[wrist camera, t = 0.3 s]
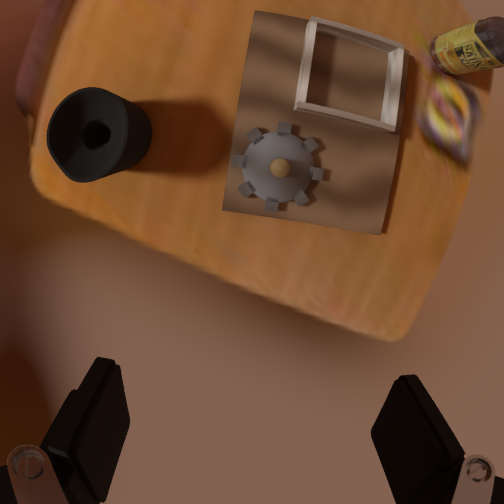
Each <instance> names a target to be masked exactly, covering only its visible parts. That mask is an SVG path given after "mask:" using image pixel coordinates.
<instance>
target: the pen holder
mask: <svg viewBox="0 0 504 504" xmlns="http://www.w3.org/2000/svg"><path fill="white" fill-rule="evenodd" d="M151 138H152V128H151V123H150V121H149V118H148V116H147V115H146V113H145V112H144V111H143V110H142V109H141V108H140V107H138V106H137V105H135V104H133V103H131V102H130V101H128V100H126V99H124V98H122V97H120V96H118V95H116V94H113V93H111V92H109V91H107V90H104V89H101V88H96V87H88V88H83V89H79V90H77V91H75V92H73V93H71V94H70V95H68V96H67V97H66V98H65V99H64V100H63V101H62V102H61V103H60V104H59V105H58V106H57V108H56V109H55V111H54V113H53V114H52V117H51V119H50V122H49V124H48V129H47V146H48V149H49V152H50V154H51V156H52V158H53V159H54V161H55V162H56V164H57V165H58V166H59V168H60V169H61V170H62V172H63V173H64V174H65V175H66V176H67V177H68V178H69V179H71V180H73V181H75V182H81V183H84V182H91V181H95V180H97V179H100V178H103V177H106V176H109V175H112V174H115V173H118V172H121V171H123V170H126V169H128V168H130V167H132V166H134V165H136V164H137V163H138V162H139V161H140V160H141V159H142V158H143V157H144V156H145V154H146V152H147V151H148V149H149V146H150V143H151Z"/></svg>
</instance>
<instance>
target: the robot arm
mask: <svg viewBox="0 0 504 504" xmlns="http://www.w3.org/2000/svg"><path fill="white" fill-rule="evenodd" d="M129 425H130V417H129V412H128V407H127V402H126V397H125V392H124V386H123V381H122V375H121V369H120V366H119V365H116V363H115V361H114V360H112V359H107V358H102V357H97V358H96V359H95V361H94V363H93V364H92V366H91V367H90V369H89V371H88V373H87V374H86V376H85V378H84V379H83V381H82V383H81V384H80V386H79V388H78V390H75V389H74V390H72V391H71V392H70V393H69V395H68V396H67V398H66V400H65V402H64V403H63V405H62V407H61V409H60V410H59V412H58V414H57V416H56V417H55V419H54V421H53V423H52V425H51V427H50V428H49V430H48V432H47V434H46V436H45V437H44V439H43V441H42V443H41V445H40V447H39V448H38V447H36V446H32V445H24V446H20V447H17V448H16V449H14V450H13V451H12V452H11V453H10V455H9V456H8V460H7V465H5V466H1V467H0V504H100V502H103V503H104V502H105V501H106V498H107V495H108V492H109V488H110V484H111V482H112V478H113V475H114V472H115V469H116V466H117V462H118V459H119V456H120V453H121V450H122V447H123V444H124V441H125V438H126V435H127V432H128V429H129ZM371 438H372V440H373V443H374V445H375V448H376V450H377V453H378V456H379V459H380V461H381V464H382V467H383V469H384V472H385V475H386V477H387V480H388V483H389V486H390V488H391V491H392V494H393V497H394V499H395V502H396V504H504V479H503V478H500V477H497V476H495V469H494V466H493V464H492V463H491V461H490V460H489V459H487V458H486V457H484V456H481V455H471V456H469V457H467V458H466V459H465V458H464V454H465V452H464V450H463V449H462V447H461V446H460V444H459V442H458V440H457V438H456V437H455V435H454V433H453V432H452V430H451V428H450V427H449V425H448V424H447V422H446V420H445V419H444V417H443V415H442V414H441V412H440V411H439V409H438V407H437V406H436V404H435V403H434V401H433V400H432V398H431V396H430V395H429V394H428V392H427V390H426V389H425V388H424V386H423V384H422V383H421V381H420V380H419V378H418V377H417V376H416V375H414V374H413V375H402V376H400V377H399V378H398V380H395V381H394V383H393V385H392V388H391V390H390V392H389V394H388V396H387V399H386V401H385V403H384V405H383V407H382V409H381V411H380V413H379V415H378V417H377V419H376V421H375V423H374V425H373V427H372V429H371Z"/></svg>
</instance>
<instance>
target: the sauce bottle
mask: <svg viewBox="0 0 504 504" xmlns="http://www.w3.org/2000/svg"><path fill="white" fill-rule="evenodd" d="M430 53H431V56H432V58H433V60H434V62H435V63H436V65H437V66H438V67H439V68H440V70H442V71H443V72H445V73H448V74H454V75H460V74H466V73H471V72H476V71H482V70H487V69H493V68H499V67H504V18H502V17H489V18H487V19H484V20H478V21H476V22H473V23H470V24H467V25H465V26H462V27H459V28H456V29H454V30H451V31H448V32H446V33H443V34H441V35H440V36H438V37H436V38H435V39H434V40H433V41H432V43H431V46H430Z"/></svg>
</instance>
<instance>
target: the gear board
mask: <svg viewBox="0 0 504 504" xmlns="http://www.w3.org/2000/svg"><path fill="white" fill-rule="evenodd" d="M408 65H409V51H408V50H405V49H404V44H401V43H399V42H396V41H393V40H391V39H388V38H385V37H382V36H380V35H377V34H374V33H371V32H368V31H365V30H361V29H358V28H355V27H352V26H348V25H345V24H341V23H338V22H334V21H330V20H326V19H322V18H318V17H314V16H311V18H310V20H306V19H302V18H297V17H292V16H287V15H281V14H275V13H269V12H262V11H255V12H254V17H253V23H252V28H251V33H250V39H249V44H248V49H247V55H246V61H245V66H244V72H243V78H242V83H241V89H240V95H239V101H238V107H237V114H236V120H235V126H234V132H233V139H232V145H231V152H230V159H229V165H228V172H227V179H226V186H225V193H224V200H223V208H222V210H223V211H231V212H238V213H245V214H252V215H259V216H265V217H272V218H279V219H285V220H292V221H298V222H304V223H311V224H317V225H323V226H329V227H335V228H341V229H347V230H353V231H358V232H364V233H370V234H375V235H381V230H382V226H383V222H384V218H385V213H386V209H387V204H388V200H389V195H390V190H391V185H392V180H393V175H394V170H395V164H396V159H397V153H398V147H399V140H400V134H401V127H402V120H403V113H404V105H405V96H406V87H407V77H408Z"/></svg>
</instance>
